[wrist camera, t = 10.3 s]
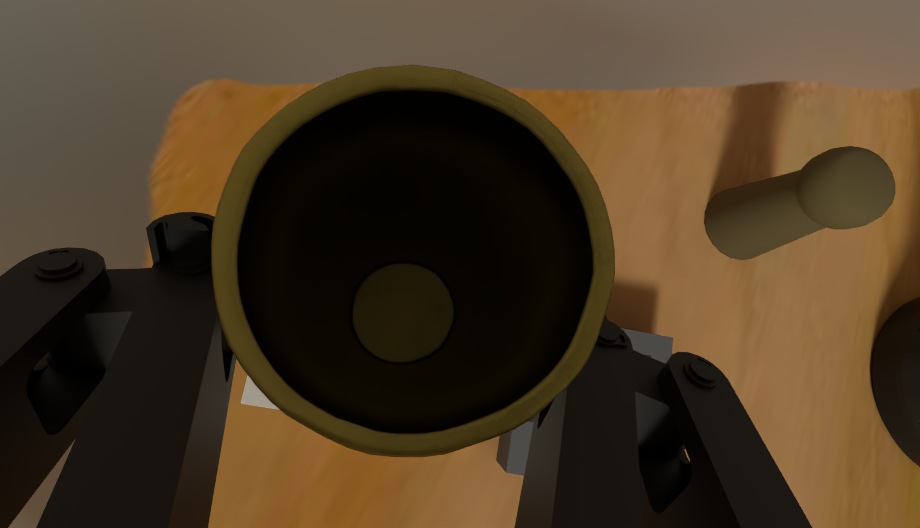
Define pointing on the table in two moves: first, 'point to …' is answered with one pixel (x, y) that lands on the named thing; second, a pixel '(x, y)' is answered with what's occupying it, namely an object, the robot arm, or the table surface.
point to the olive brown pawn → (801, 203)
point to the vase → (411, 261)
